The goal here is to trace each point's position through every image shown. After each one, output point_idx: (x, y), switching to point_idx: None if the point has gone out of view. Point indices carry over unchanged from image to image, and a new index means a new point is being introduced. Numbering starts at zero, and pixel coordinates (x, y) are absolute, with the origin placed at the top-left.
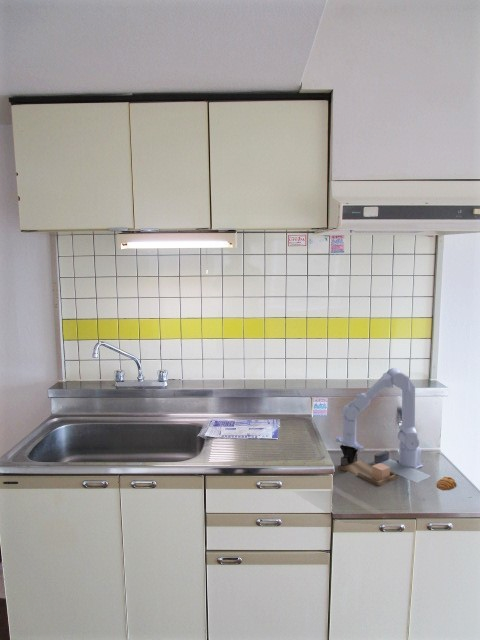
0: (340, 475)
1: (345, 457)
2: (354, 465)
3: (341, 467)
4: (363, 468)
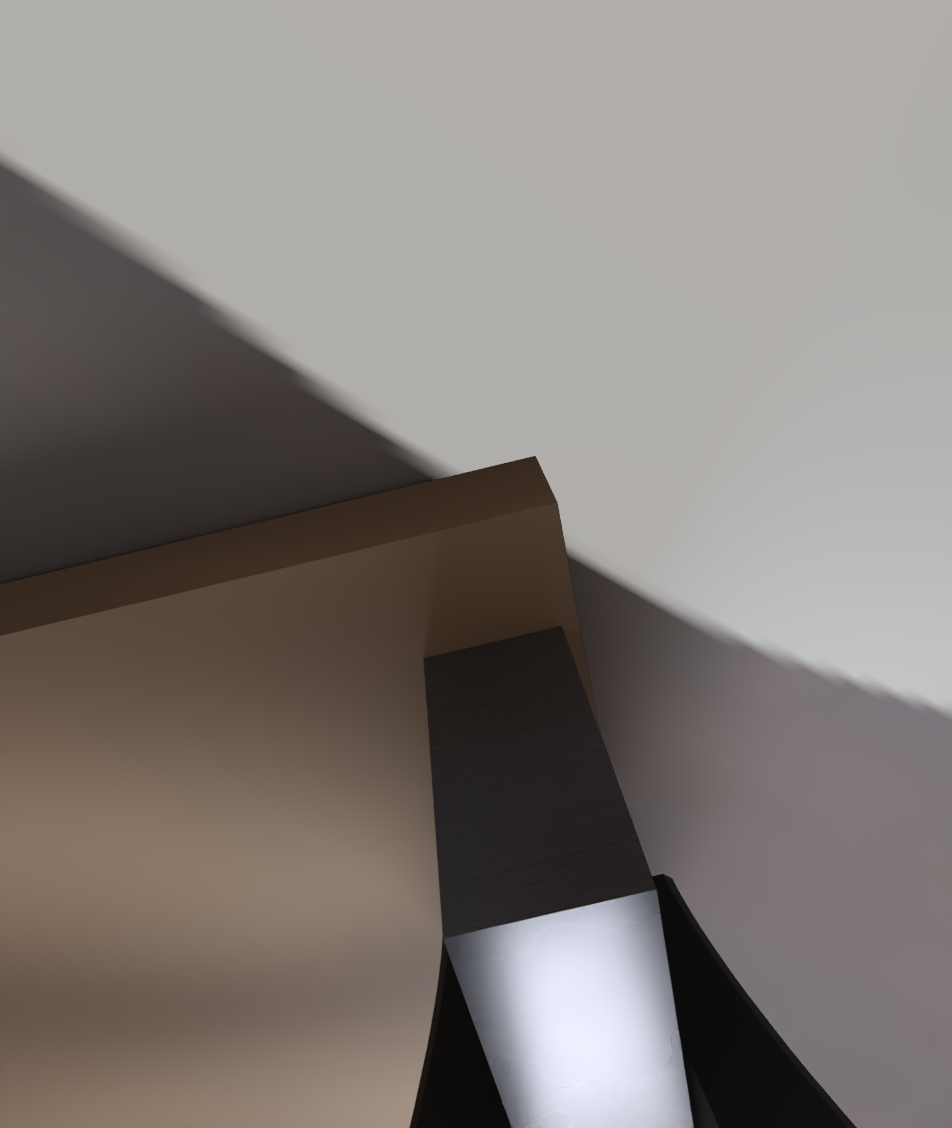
0: (27, 252)
1: (523, 1052)
2: (361, 958)
3: (377, 557)
4: (99, 1061)
